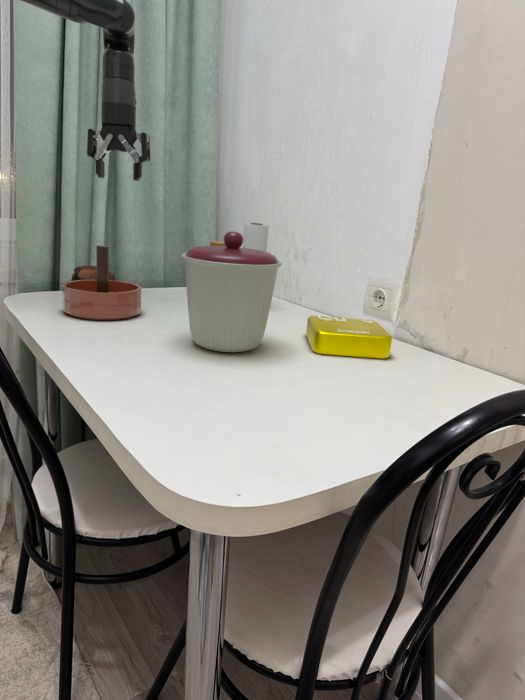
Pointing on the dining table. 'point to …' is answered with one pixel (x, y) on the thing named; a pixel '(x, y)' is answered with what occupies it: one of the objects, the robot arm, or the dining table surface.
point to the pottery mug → (87, 273)
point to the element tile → (348, 337)
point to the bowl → (101, 300)
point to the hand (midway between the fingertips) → (118, 179)
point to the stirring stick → (102, 268)
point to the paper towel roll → (255, 236)
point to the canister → (229, 294)
